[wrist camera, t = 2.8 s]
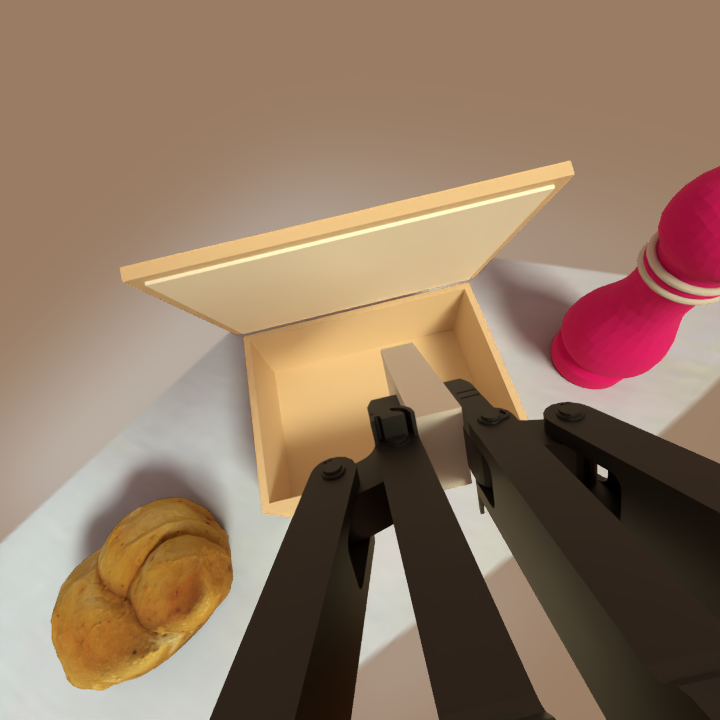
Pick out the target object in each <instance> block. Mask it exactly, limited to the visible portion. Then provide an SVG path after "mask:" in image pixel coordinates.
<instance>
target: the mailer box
mask: <svg viewBox="0 0 720 720" xmlns="http://www.w3.org/2000/svg"><path fill="white" fill-rule="evenodd" d="M243 340H244V349H245V359H246V368H247V377H248V387H249V396H250V405H251V415H252V424H253V433H254V443H255V452H256V461H257V471H258V480H259V489H260V499H261V508H262V514H267V515H275V516H283V517H293V515H294V513H295V510H296V508H297V505H298V503H299V500H300V498H301V496H302V493H303V491H304V488H305V486H306V483H307V481H308V479H309V476H310V474H311V472H312V471H313V469H314V468H315V467H316V466H317V465H318V464H319V463H321V462H323V461H325V460H327V459H329V458H334V457H347V458H350V459H352V460H353V461H354V462H355V463H357V462H359V461H361V460H363V459H365V458H366V457H367V456H369V455H370V454H371V452H372V451H373V450H374V447H375V441H374V437H373V433H372V429H371V424H370V419H369V414H368V410H367V407H368V405H369V403H370V401H371V400H374V399H379V398H383V397H387V396H390V394H389V390H388V385H387V380H386V375H385V370H384V366H383V361H382V356H381V351H380V350H382V349H386V348H390V347H395V346H399V345H403V344H407V343H412V342H413V344H414V345H415V346H416V348H417V349H418V350H419V352H420V353H421V354H422V356H423V357H424V358H425V360H426V361H427V362H428V364H429V365H430V366H431V368H432V369H433V370H434V371H435V373H436V374H437V375H438V377H439V378H440V379H441V381H442V382H447V381H451V380H455V379H463V380H466V381H468V382H470V383H471V384H472V385H473V386H474V387H475V388H476V390H478V391H479V392H480V394H482V395H483V397H484V398H485V399H486V400H487V401H488V402H489V403H490V404H491V405H492V406H493V407H495V408H502V409H506V410H508V411H509V412H511V413H512V414H513V415H514V416H515V417H516V418H517V419H518V420H528V418H527V415H526V413H525V411H524V408H523V406H522V404H521V402H520V399H519V397H518V395H517V392H516V390H515V388H514V385H513V383H512V381H511V378H510V376H509V374H508V372H507V369H506V367H505V365H504V362H503V360H502V358H501V355H500V353H499V351H498V348H497V346H496V344H495V342H494V339H493V337H492V335H491V332H490V330H489V328H488V325H487V323H486V321H485V319H484V316H483V314H482V312H481V309H480V307H479V305H478V302H477V300H476V298H475V295H474V293H473V291H472V289H471V286H470V284H469V282H466V283H462V284H458V285H454V286H450V287H446V288H442V289H438V290H433V291H429V292H425V293H421V294H417V295H413V296H409V297H405V298H400V299H396V300H392V301H388V302H384V303H380V304H376V305H371V306H367V307H363V308H359V309H355V310H351V311H347V312H343V313H338V314H334V315H330V316H326V317H322V318H318V319H314V320H309V321H305V322H301V323H297V324H293V325H289V326H285V327H281V328H276V329H272V330H268V331H264V332H260V333H256V334H252V335H247V336H243ZM470 472H472V471H471V470H470Z"/></svg>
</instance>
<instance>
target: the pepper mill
mask: <svg viewBox="0 0 720 720" xmlns="http://www.w3.org/2000/svg"><path fill="white" fill-rule="evenodd" d="M719 300H720V166H719V167H717V168H715V169H712V170H710V171H708V172H705V173H703V174H702V175H700V176H699V177H697V178H696V179H694V180H693V181H691V182H690V183H688V184H687V185H685V186H684V187H683V188H682V189H681V190H680V191H679V192H678V193H677V194H676V195H675V196H674V197H673V198H672V200H671V201H670V202H669V203H668V205H667V206H666V208H665V209H664V211H663V213H662V216H661V219H660V223H659V226H658V231H657V232H656V233H655V234H654V235H653V236H652V237H651V239H650V241H649V242H648V243H646V244H645V245H644V246H643V247H642V249H641V250H640V252H639V254H638V259H637V268H636V269H635V270H634V271H633V272H632V273H631V274H630V275H629V276H627V277H626V278H624V279H622V280H620V281H617V282H615V283H611V284H608V285H605V286H602V287H600V288H597V289H595V290H593V291H592V292H590V293H588V294H586V295H585V296H583V297H582V298H580V299H579V300H578V301H577V302H576V303H575V304H574V305H573V306H572V307H571V308H570V309H569V310H568V312H567V314H566V315H565V317H564V320H563V323H562V329H561V330H560V331H559V332H558V334H557V335H556V336H555V338H554V339H553V341H552V345H551V357H552V361H553V363H554V365H555V367H556V369H557V370H558V371H559V373H560V374H561V375H562V376H563V377H564V378H566V379H567V380H568V381H570V382H571V383H573V384H575V385H578V386H580V387H583V388H588V389H604V388H608V387H610V386H613V385H614V384H616V383H617V382H619V381H620V380H622V379H624V378H630V377H634V376H637V375H640V374H643V373H645V372H647V371H649V370H650V369H651V368H652V367H654V366H655V365H656V364H657V363H658V362H660V361H661V360H662V359H663V357H664V356H665V355H666V354H667V352H668V350H669V349H670V347H671V345H672V344H673V342H674V340H675V337H676V334H677V331H678V328H679V325H680V322H681V320H682V318H683V316H684V315H685V314H686V313H687V312H688V311H689V310H690V309H692V308H693V307H694V306H696V305H706V304H711V303H714V302H716V301H719Z"/></svg>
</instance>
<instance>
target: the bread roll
mask: <svg viewBox="0 0 720 720" xmlns="http://www.w3.org/2000/svg"><path fill="white" fill-rule="evenodd" d="M232 581H233V569H232V563H231V551H230V547H229V544H228V535H227V534H226V532H225V531H224V530H222V529H221V527H220V526H219V525H218V524H217V522H216V521H215V520H214V518H213V516H212V515H211V514H210V512H209V511H208V510H206V509H205V508H203V507H202V506H200V505H198V504H196V503H194V502H193V501H190V500H187V499H184V498H181V497H179V498H166V499H160V500H156V501H153V502H151V503H149V504H146V505H143V506H141V507H138V508H137V509H136V510H134V511H133V512H131V513H130V514H128V515H127V516H126V517H124V518H123V519H122V520H121V521H120V522H119V523H118V524H117V525H116V526H115V528H114V529H113V530H112V531H111V533H110V534H109V535H108V537H107V539H106V540H105V542H104V544H103V546H102V547H101V548H100V549H98V550H97V551H95V552H94V553H93V554H92V555H90V556H89V557H88V558H86V559H85V560H84V561H83V562H81V563H80V564H79V565H78V566H77V567H76V568H75V569H74V570H73V572H72V573H71V574H70V575H69V577H68V578H67V579H66V580H65V582H64V583H63V584H62V586H61V589H60V592H59V595H58V598H57V601H56V604H55V607H54V609H53V613H52V618H51V624H52V642H53V645H54V647H55V650H56V653H57V657H58V658H59V660H60V662H61V663H62V666H63V669H64V672H65V674H66V678H67V680H68V681H69V682H70V683H71V684H72V685H73V686H75V687H77V688H80V689H92V690H98V691H102V690H105V689H107V688H109V687H110V686H112V685H114V684H118V683H121V682H123V681H127V680H131V679H135V678H137V677H140V676H142V675H144V674H146V673H148V672H149V671H151V670H152V669H154V668H156V667H158V666H159V665H160V664H162V663H163V662H164V661H166V660H168V659H169V658H170V657H171V656H172V655H173V654H174V653H176V652H177V651H178V650H179V649H180V648H181V647H182V646H183V645H184V644H185V643H186V642H187V641H188V640H189V639H190V638H191V637H192V636H193V635H194V634H195V633H196V632H197V631H198V630H199V629H200V628H201V627H202V626H203V625H204V624H205V623H206V621H207V620H208V619H209V617H210V616H211V615H212V613H213V612H214V610H215V609H216V608H217V607H218V606H219V605H220V604H221V602H222V601H223V600H224V599H225V598H226V596H227V595H228V593H229V591H230V589H231V584H232Z"/></svg>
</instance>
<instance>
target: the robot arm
mask: <svg viewBox="0 0 720 720" xmlns="http://www.w3.org/2000/svg"><path fill="white" fill-rule="evenodd" d="M380 351H381V356H382V361H383V366H384V370H385V375H386V380H387V385H388V390H389V394H390V396H387V397H383V398H379V399H374V400H371V401H370V403H369V405H368V407H367V410H368V414H369V419H370V424H371V429H372V433H373V437H374V441H375V447H374V450H373V451H372V452H371V454H370V455H369V456H367V457H366V458H365V459H363V460H361V461H359V462H357V463H355V462H354V461H353V460H352V459H350V458H347V457H334V458H329V459H327V460H325V461H323V462H321V463H319V464H318V465H317V466H316V467H315V468H314V469H313V471H312V472H311V474H310V476H309V479H308V481H307V483H306V486H305V488H304V491H303V493H302V496H301V498H300V500H299V503H298V505H297V508H296V510H295V513H294V515H293V518H292V520H291V522H290V525H289V527H288V530H287V532H286V535H285V537H284V539H283V542H282V544H281V547H280V549H279V552H278V554H277V556H276V559H275V561H274V564H273V566H272V569H271V571H270V574H269V576H268V578H267V581H266V583H265V586H264V588H263V591H262V593H261V595H260V598H259V600H258V603H257V605H256V608H255V610H254V612H253V615H252V617H251V620H250V622H249V625H248V627H247V630H246V632H245V634H244V637H243V639H242V642H241V644H240V647H239V649H238V651H237V654H236V656H235V659H234V661H233V664H232V666H231V668H230V671H229V673H228V676H227V678H226V681H225V683H224V686H223V688H222V690H221V693H220V695H219V698H218V700H217V703H216V705H215V707H214V710H213V712H212V715H211V717H210V720H351V715H352V708H353V700H354V693H355V685H356V678H357V671H358V663H359V656H360V649H361V641H362V634H363V626H364V619H365V612H366V604H367V597H368V589H369V582H370V574H371V567H372V560H373V552H374V545H375V537H374V535H375V534H376V533H378V532H380V531H382V530H384V529H386V528H387V527H389V526H391V525H393V524H394V527H395V532H396V536H397V540H398V545H399V549H400V553H401V558H402V562H403V566H404V570H405V575H406V579H407V583H408V588H409V592H410V596H411V601H412V605H413V609H414V614H415V618H416V622H417V626H418V631H419V635H420V639H421V644H422V648H423V652H424V657H425V661H426V665H427V669H428V674H429V678H430V682H431V687H432V691H433V695H434V699H435V704H436V708H437V713H438V716H439V720H556V719H555V718H554V717H553V716H552V715H550V714H549V713H547V712H546V711H545V710H544V708H543V707H542V705H541V703H540V701H539V699H538V697H537V695H536V693H535V691H534V689H533V686H532V684H531V682H530V680H529V678H528V675H527V673H526V671H525V669H524V667H523V664H522V662H521V660H520V658H519V655H518V653H517V651H516V649H515V647H514V644H513V642H512V640H511V638H510V636H509V634H508V631H507V629H506V627H505V625H504V622H503V620H502V618H501V616H500V614H499V611H498V609H497V607H496V605H495V603H494V600H493V598H492V596H491V594H490V592H489V589H488V587H487V585H486V583H485V580H484V578H483V576H482V574H481V572H480V569H479V567H478V565H477V563H476V561H475V558H474V556H473V554H472V552H471V550H470V547H469V545H468V543H467V541H466V539H465V536H464V534H463V532H462V530H461V527H460V525H459V523H458V521H457V519H456V516H455V514H454V512H453V510H452V508H451V505H450V503H449V501H448V499H447V497H446V494H445V492H444V490H446V489H450V488H455V487H459V486H463V485H467V484H471V483H472V480H471V473H470V470H471V471H472V473H473V475H474V477H475V478H476V485H477V493H478V500H479V508H480V512H481V514H484V505H485V507H486V508H487V510H488V512H489V514H490V515H491V517H492V519H493V521H494V523H495V524H496V526H497V528H498V530H499V531H500V533H501V535H502V537H503V538H504V540H505V542H506V544H507V545H508V547H509V549H510V551H511V552H512V554H513V556H514V558H515V559H516V561H517V563H518V565H519V566H520V568H521V570H522V572H523V574H524V575H525V577H526V579H527V581H528V582H529V584H530V586H531V588H532V589H533V591H534V593H535V595H536V596H537V598H538V600H539V602H540V603H541V605H542V607H543V609H544V610H545V612H546V614H547V616H548V618H549V619H550V621H551V623H552V625H553V626H554V628H555V630H556V632H557V633H558V635H559V637H560V639H561V640H562V642H563V644H564V646H565V647H566V649H567V651H568V653H569V654H570V656H571V658H572V660H573V661H574V663H575V665H576V667H577V668H578V670H579V672H580V674H581V675H582V677H583V679H584V681H585V683H586V684H587V686H588V688H589V690H590V691H591V693H592V695H593V697H594V698H595V700H596V702H597V704H598V705H599V707H600V709H601V711H602V712H603V714H604V716H605V718H606V720H720V464H719V463H717V462H715V461H712V460H710V459H708V458H705V457H703V456H701V455H699V454H696V453H694V452H692V451H689V450H687V449H685V448H683V447H680V446H678V445H676V444H674V443H671V442H669V441H667V440H664V439H662V438H660V437H658V436H655V435H653V434H651V433H648V432H646V431H644V430H642V429H639V428H637V427H635V426H632V425H630V424H628V423H626V422H623V421H621V420H619V419H616V418H614V417H612V416H610V415H607V414H605V413H603V412H600V411H598V410H596V409H594V408H591V407H589V406H586V405H583V404H579V403H572V402H565V403H564V402H562V403H557V404H553V405H551V406H549V407H547V408H546V409H545V411H544V413H543V414H544V420H518V419H517V418H516V417H515V416H514V415H513V414H512V413H511V412H509V411H508V410H506V409H502V408H495V407H493V406H492V405H491V404H490V403H489V402H488V401H487V400H486V399H485V398H484V397H483V395H482V394H480V392H479V391H478V390H476V388H475V387H474V386H473V385H472V384H471V383H470V382H468V381H466V380H463V379H455V380H451V381H447V382H442V381H441V379H440V378H439V377H438V375H437V374H436V373H435V371H434V370H433V369H432V368H431V366H430V365H429V364H428V362H427V361H426V360H425V358H424V357H423V356H422V354H421V353H420V352H419V350H418V349H417V348H416V346H415V345H414V344H413V342H412V343H407V344H403V345H399V346H395V347H390V348H386V349H382V350H380ZM597 464H598V465H600V466H601V467H603V468H605V469H607V470H608V478H604V477H602V476H601V475H599V474H597Z"/></svg>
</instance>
